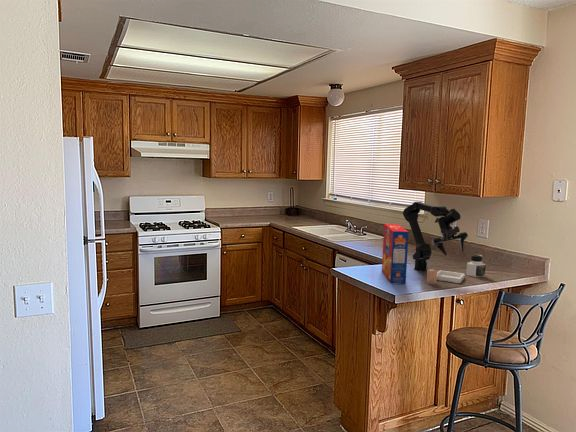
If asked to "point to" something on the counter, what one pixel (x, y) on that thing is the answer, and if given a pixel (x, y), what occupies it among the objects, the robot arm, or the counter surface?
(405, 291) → the counter surface
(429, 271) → the peach rounded cylinder
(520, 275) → the counter surface
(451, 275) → the tray
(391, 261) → the cereal box
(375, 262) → the counter surface
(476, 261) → the medicine bottle
